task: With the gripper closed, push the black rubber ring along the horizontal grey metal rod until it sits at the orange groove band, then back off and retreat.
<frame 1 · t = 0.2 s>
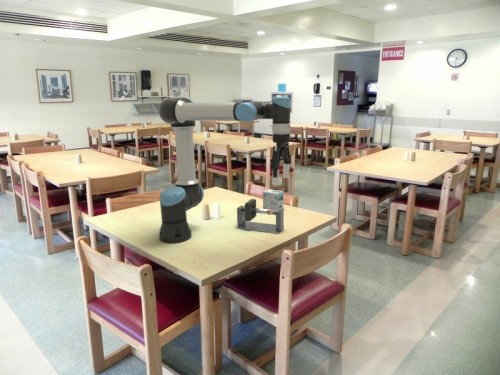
hand: (281, 181, 166), 28 cm above the table, fingers open, 13 cm apart
light bulb box: (273, 209, 219), on the table
ring: (250, 209, 187), point 9 cm above the table, slide at 0.0 cm
pipe rig: (260, 227, 188), on the table
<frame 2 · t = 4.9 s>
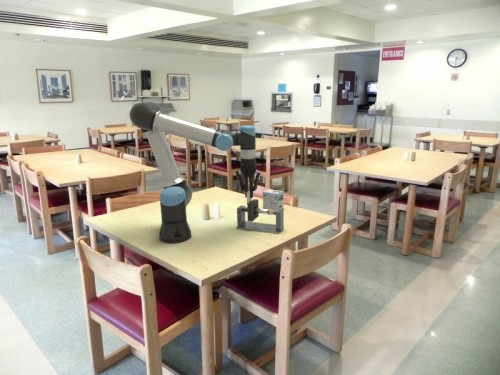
hand: (249, 203, 187), 12 cm above the table, fingers closed
ring: (253, 210, 187), point 9 cm above the table, slide at 1.3 cm, touching gripper
everything else where it was.
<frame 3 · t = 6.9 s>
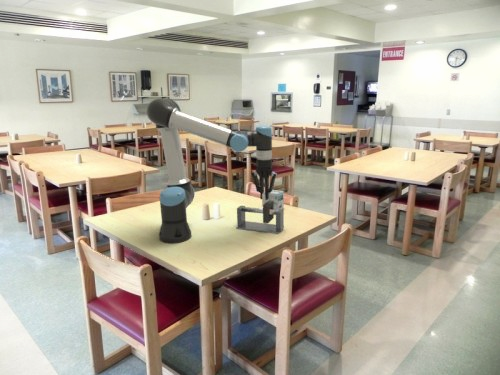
hand: (264, 205, 184), 12 cm above the table, fingers closed
ring: (268, 211, 184), point 9 cm above the table, slide at 9.5 cm, touching gripper
everything else where it was.
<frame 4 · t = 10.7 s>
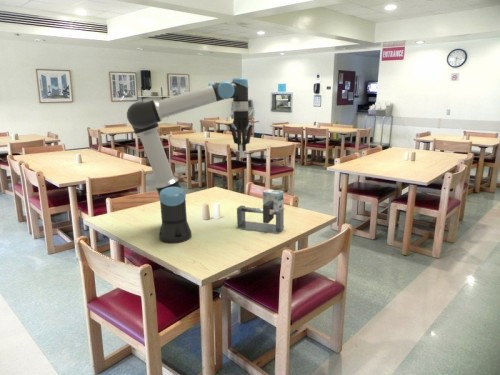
hand: (242, 157, 190), 34 cm above the table, fingers closed
ring: (268, 211, 184), point 9 cm above the table, slide at 9.5 cm
everything else where it was.
at the end: ring slide at 9.5 cm; the gripper is holding nothing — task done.
